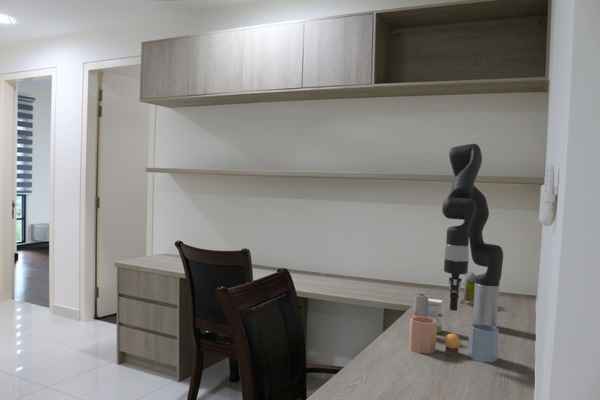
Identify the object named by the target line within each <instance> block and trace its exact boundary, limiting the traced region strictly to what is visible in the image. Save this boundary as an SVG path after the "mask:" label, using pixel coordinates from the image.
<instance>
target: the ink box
mask: <svg viewBox="0 0 600 400" xmlns="http://www.w3.org/2000/svg"><path fill="white" fill-rule="evenodd" d="M443 304H444V300H442V299H441V300H440V299H435V298H428V314H427V317H428V318H432V319H435V320H436V321H437V330H436V334H437V333H438V334H441V333H442V329H443V312H444V311H443V308H444V307H443V306H444V305H443Z"/></svg>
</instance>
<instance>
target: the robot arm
mask: <svg viewBox="0 0 600 400" xmlns="http://www.w3.org/2000/svg"><path fill="white" fill-rule="evenodd" d="M448 153H449V155H448V157H449V161H450V162H449V163H450V165H451V168H452V172H453V175H454V179H453V181H452V185H451V190H450V192H449V194H448V195H447V197H446V198H445V200H443V204H442V210H441V211H442V214H443V216H444V217H445V218H447V219H449V220H450V219H452V220H461V221H462V220H463V222H462V224H460V225H454V226H453V225H452V226H449V227H447V230H446V243H445V249H444V263H443V271H444V272H445V273H447V274H451V275H450V276H451V277H450V276H449V277H448V284H449V285H448V286H449V288H448V291H449V293H450V294H449V298H450V301H449V303H450V304H449V310H450V311H458V302H459V301H458V300H459V294H460V293H461V286H462V278H461V277H460V275H462V276H463V275H466V274H467V273H468V272H469V256H471V259H472V261H473V263H474V264H475V265H477V266H481V267H484V268H485V267H486V268H487V269H486V272H485V273H482V274H477V275H476V277H475V287H474V301H473V306H472V308H473V310H472V324H487V325H491V326H495V327H496V328H498V315H499V313H498V312H499V297H500V282H501V279H502V273H503V272H502V271H503V264H504V263H503V262H504V251H503V248H502V247H501V246H500V245H497V244H492V243H486V242H485V241H484V237H483V230H484V227H485V226H486V224H487V221H488V219H489V216H490V215H489V214H490V211H489V207H488V202H487V198H486V196H485V194H483V193H482V191H481V190H479V188H477V186H475V185H474V184H475V181H476V178H477V176H478V174H479V171H480V168H481V166H482V161H483V155H482V154H483V153H482V150H481V148H480V146H479V145H478V144H477V143H469V144H463V145H458V146H457V145H456V146H452V147H451V148H450V149H449V152H448ZM469 247H470V250H469ZM469 251H470V253H471V255H469V254H470V253H469Z"/></svg>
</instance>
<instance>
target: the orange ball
mask: <svg viewBox="0 0 600 400" xmlns="http://www.w3.org/2000/svg"><path fill="white" fill-rule="evenodd" d="M443 342H444V344H445V347H446V346H447V347H448V348H450V349H456V348H458V349H459V347H460V345H461V339H460V337H459V336H458V334H455V333H449V334H446V335H445V337H444V341H443Z"/></svg>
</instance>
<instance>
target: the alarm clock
mask: <svg viewBox="0 0 600 400" xmlns="http://www.w3.org/2000/svg"><path fill="white" fill-rule="evenodd" d="M476 276H477V275H476V273H474V272H473V271H468V273H467V274H464V282H463V287H464V288H463V298H462V299H461V300H460V304H462V303H464V302H465V301H466V302H469V303H470V306H471V307H473V306H474V287H475V277H476Z"/></svg>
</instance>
